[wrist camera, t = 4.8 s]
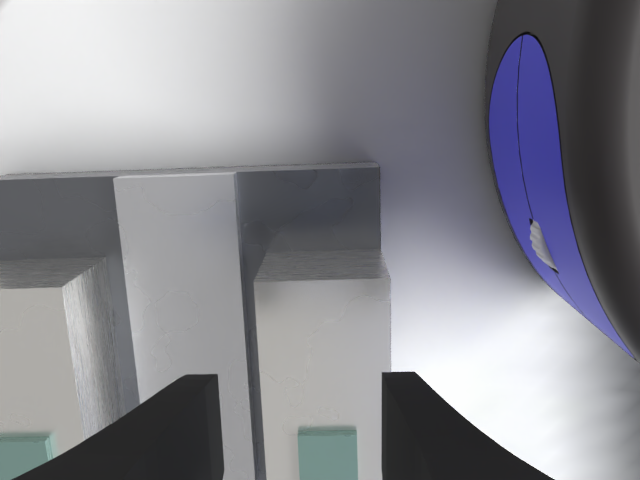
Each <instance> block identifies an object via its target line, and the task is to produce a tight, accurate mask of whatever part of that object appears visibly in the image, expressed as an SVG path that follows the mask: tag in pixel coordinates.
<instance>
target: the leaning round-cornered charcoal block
mask: <svg viewBox="0 0 640 480" xmlns="http://www.w3.org/2000/svg"><path fill="white" fill-rule="evenodd" d="M520 49H521V50H520ZM519 57H520V58H519ZM485 126H486V137H487V146H488V153H489V159H490V165H491V170H492V174H493V179H494V183H495V187H496V190H497V193H498V197H499V200H500V203H501V206H502V209H503V212H504V214H505V217H506V219H507V222H508V224H509V227H510V229H511V231H512V233H513V235H514V237H515V239H516V241H517V243H518V245H519V246H520V248H521V250H522V252H523V253H524V255H525V256H526V258H527V260H528V261H529V263H530V264H531V265H532V267H533V268H534V270H535V271H536V272H537V273H538V275H539V276H540V277H541V278H542V279H543V280H544V281H545V282H546V284H547V285H548V286H549V287H550V288H551V289H553V290H554V291H555V292H556V293H557V294H558V295H559V296H560V297H562V298H563V299H564V300H565V301H566V302H567V303H569V304H570V305H571V306H572V307H573V308H575V309H576V310H577V311H578V312H579V313H580V314H582V315H583V316H584V317H585V318H586V319H588V320H589V321H590V322H591V323H592V324H593V325H595V326H596V327H597V328H598V329H599V330H600V331H602V332H603V333H604V334H605V335H606V336H608V337H609V338H610V339H611V340H612V341H613V342H615V343H616V344H617V345H618V346H619V347H621V348H622V349H623V350H624V351H625V352H626V353H628V354H629V355H630V356H631V357H632V358H634V359H635V360H636V361H637V362H638V363H639V364H640V0H498V3H497V8H496V12H495V16H494V20H493V25H492V30H491V35H490V41H489V48H488V55H487V65H486V76H485ZM518 145H519V146H518ZM521 169H522V170H521ZM526 195H527V196H526Z"/></svg>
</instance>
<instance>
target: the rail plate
mask: <svg viewBox="0 0 640 480" xmlns="http://www.w3.org/2000/svg"><path fill="white" fill-rule="evenodd" d="M382 372H391V303H390V276H389V273H388V270H387V267H386V264H385V261H384V258H383V255H382V251H381V232H380V167H379V165H378V164H377V163H376V162H363V163H333V164H304V165H274V166H245V167H216V168H186V169H157V170H127V171H98V172H69V173H39V174H10V175H4V176H0V480H11V479H13V478H16V477H18V476H20V475H22V474H24V473H26V472H28V471H30V470H32V469H34V468H36V467H38V466H40V465H42V464H44V463H46V462H48V461H49V460H51V459H53V458H55V457H57V456H59V455H61V454H62V453H64V452H66V451H68V450H69V449H71V448H73V447H75V446H76V445H78V444H80V443H81V442H83V441H84V440H86V439H88V438H89V437H91V436H92V435H94V434H96V433H97V432H99V431H100V430H102V429H104V428H105V427H107V426H109V425H110V424H112V423H113V422H115V421H117V420H118V419H120V418H121V417H123V416H124V415H126V414H127V413H128V412H130V411H131V410H133V409H134V408H136V407H137V406H139V405H140V404H142V403H143V402H144V401H146V400H147V399H149V398H150V397H152V396H153V395H155V394H156V393H157V392H159V391H160V390H162V389H163V388H165V387H166V386H168V385H169V384H171V383H172V382H174V381H175V380H177V379H178V378H180V377H182V376H184V375H186V374H218V384H219V398H220V413H221V427H222V441H223V455H224V475H223V480H382V469H381V455H382Z"/></svg>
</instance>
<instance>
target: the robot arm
mask: <svg viewBox="0 0 640 480" xmlns="http://www.w3.org/2000/svg"><path fill="white" fill-rule="evenodd" d="M381 469H382V480H554V479H552V478H551V477H549V476H547V475H546V474H544V473H542V472H541V471H539V470H537V469H536V468H534V467H532V466H531V465H529V464H528V463H526V462H524V461H523V460H521V459H519V458H518V457H516V456H515V455H513V454H512V453H510V452H509V451H507V450H506V449H504V448H503V447H502V446H500V445H499V444H498V443H496V442H495V441H494V440H492V439H491V438H490V437H488V436H487V435H486V434H484V433H483V432H481V431H480V430H479V429H478V428H476V427H475V426H474V425H473V424H471V423H470V422H469V421H468V420H467V419H465V418H464V417H463V416H462V415H461V414H459V413H458V412H457V411H456V410H455V409H454V408H453V407H451V406H450V405H449V404H448V403H447V402H446V401H445V400H444V399H443V398H442V397H441V396H439V395H438V394H437V393H436V392H435V391H434V390H433V389H432V388H431V387H430V386H429V385H428V384H427V383H426V382H425V381H424V380H423V379H422V378H421V377H420V376H419V375H417V374H416V373H415V372H382V455H381ZM223 475H224V455H223V441H222V427H221V413H220V398H219V384H218V374H186V375H184V376H182V377H180V378H178V379H177V380H175V381H174V382H172V383H171V384H169V385H168V386H166V387H165V388H163V389H162V390H160V391H159V392H157V393H156V394H155V395H153V396H152V397H150V398H149V399H147V400H146V401H144V402H143V403H142V404H140V405H139V406H137V407H136V408H134V409H133V410H131V411H130V412H128V413H127V414H126V415H124V416H123V417H121V418H120V419H118V420H117V421H115V422H113V423H112V424H110V425H109V426H107V427H105V428H104V429H102V430H100V431H99V432H97V433H96V434H94V435H92V436H91V437H89V438H88V439H86V440H84V441H83V442H81V443H80V444H78V445H76V446H75V447H73V448H71V449H69V450H68V451H66V452H64V453H62V454H61V455H59V456H57V457H55V458H53V459H51V460H49V461H48V462H46V463H44V464H42V465H40V466H38V467H36V468H34V469H32V470H30V471H28V472H26V473H24V474H22V475H20V476H18V477H16V478H13V479H11V480H223Z"/></svg>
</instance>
